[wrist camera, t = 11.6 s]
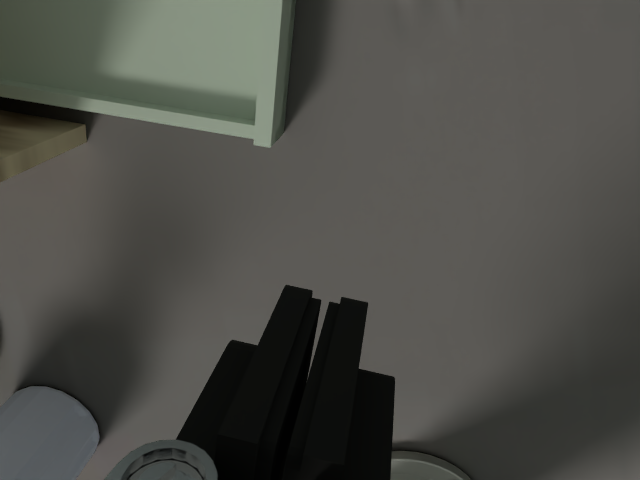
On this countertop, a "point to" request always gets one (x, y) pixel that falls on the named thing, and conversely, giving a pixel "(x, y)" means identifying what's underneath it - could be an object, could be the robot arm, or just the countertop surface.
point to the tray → (154, 60)
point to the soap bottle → (45, 435)
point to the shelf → (34, 141)
